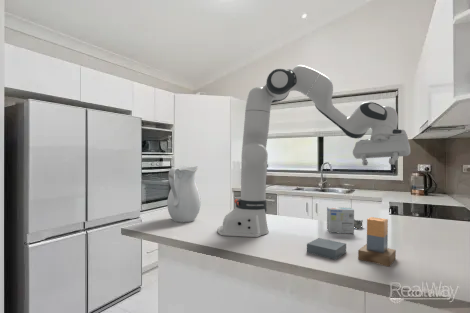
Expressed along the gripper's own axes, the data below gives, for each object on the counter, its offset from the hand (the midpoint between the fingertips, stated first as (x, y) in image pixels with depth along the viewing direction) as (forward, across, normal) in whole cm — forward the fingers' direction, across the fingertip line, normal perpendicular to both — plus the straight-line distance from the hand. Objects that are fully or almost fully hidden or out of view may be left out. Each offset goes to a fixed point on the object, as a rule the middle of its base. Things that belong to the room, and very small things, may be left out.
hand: (377, 164), depth 106 cm
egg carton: (+7, -21, +38) cm, 44 cm away
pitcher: (+39, -85, -6) cm, 94 cm away
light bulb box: (+16, -20, +28) cm, 38 cm away
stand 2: (+34, +3, +8) cm, 35 cm away
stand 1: (+37, -12, +3) cm, 39 cm away
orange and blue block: (+32, +3, +6) cm, 33 cm away
